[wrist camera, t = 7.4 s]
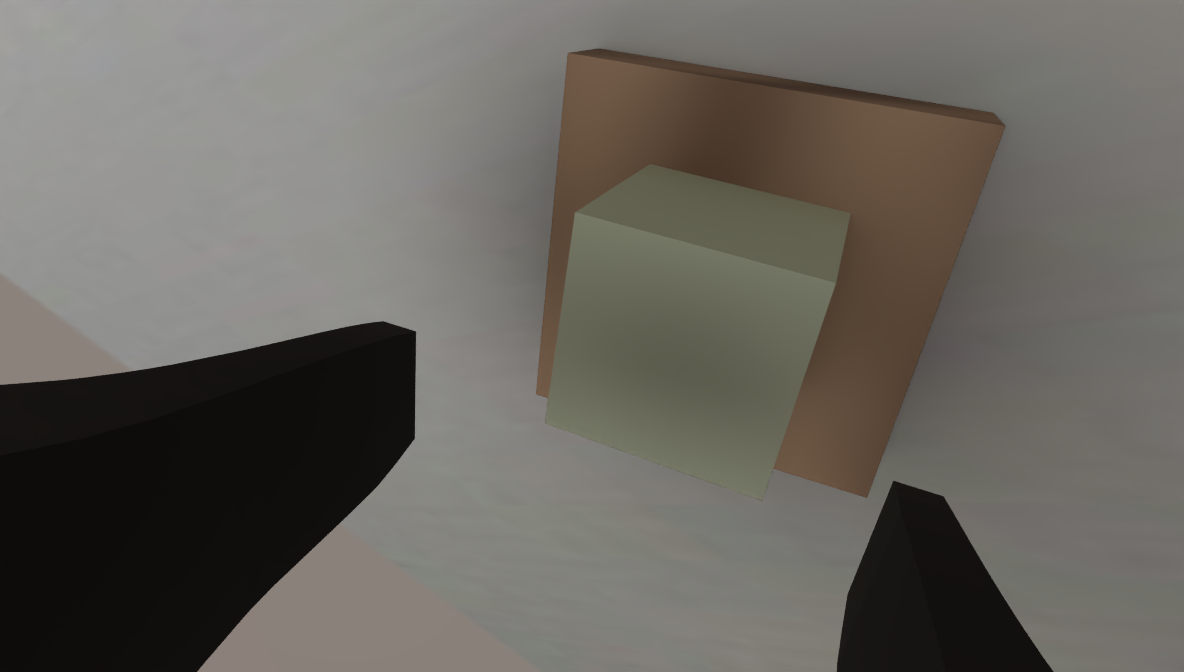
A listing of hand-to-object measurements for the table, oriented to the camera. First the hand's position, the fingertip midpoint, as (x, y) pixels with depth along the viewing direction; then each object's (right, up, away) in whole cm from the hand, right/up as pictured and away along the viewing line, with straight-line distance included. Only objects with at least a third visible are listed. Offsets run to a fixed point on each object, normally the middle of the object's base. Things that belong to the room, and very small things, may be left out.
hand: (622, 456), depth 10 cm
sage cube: (+3, +3, +6) cm, 8 cm away
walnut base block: (+4, +4, +8) cm, 10 cm away
